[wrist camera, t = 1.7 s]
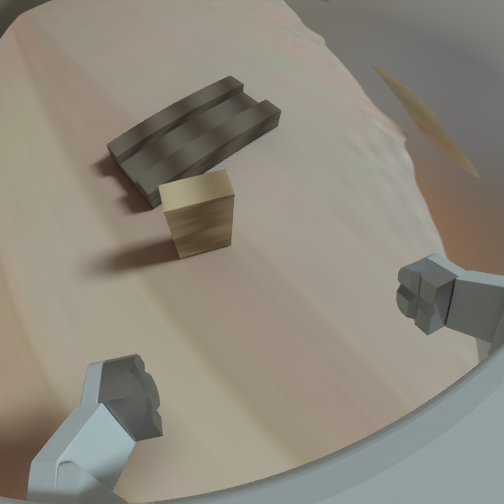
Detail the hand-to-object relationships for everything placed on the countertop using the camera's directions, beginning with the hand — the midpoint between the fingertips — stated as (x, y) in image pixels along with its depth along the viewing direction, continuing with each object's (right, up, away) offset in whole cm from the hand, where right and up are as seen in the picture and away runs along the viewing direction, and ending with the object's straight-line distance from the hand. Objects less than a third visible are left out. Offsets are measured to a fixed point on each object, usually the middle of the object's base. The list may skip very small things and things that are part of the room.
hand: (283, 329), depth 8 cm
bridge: (-8, +17, +29) cm, 34 cm away
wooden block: (-6, +3, +24) cm, 25 cm away
